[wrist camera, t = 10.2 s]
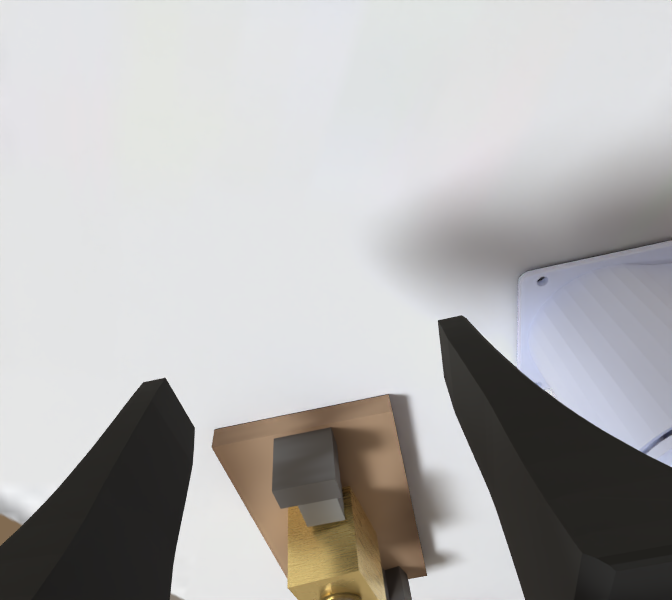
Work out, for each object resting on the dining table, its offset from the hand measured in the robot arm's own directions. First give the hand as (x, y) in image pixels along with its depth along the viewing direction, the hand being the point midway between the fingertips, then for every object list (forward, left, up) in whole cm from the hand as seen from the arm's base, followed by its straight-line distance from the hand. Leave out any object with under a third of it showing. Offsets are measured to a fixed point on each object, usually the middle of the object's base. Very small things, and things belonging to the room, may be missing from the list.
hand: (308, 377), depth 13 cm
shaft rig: (+3, +21, -9) cm, 23 cm away
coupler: (+3, +21, -8) cm, 22 cm away
